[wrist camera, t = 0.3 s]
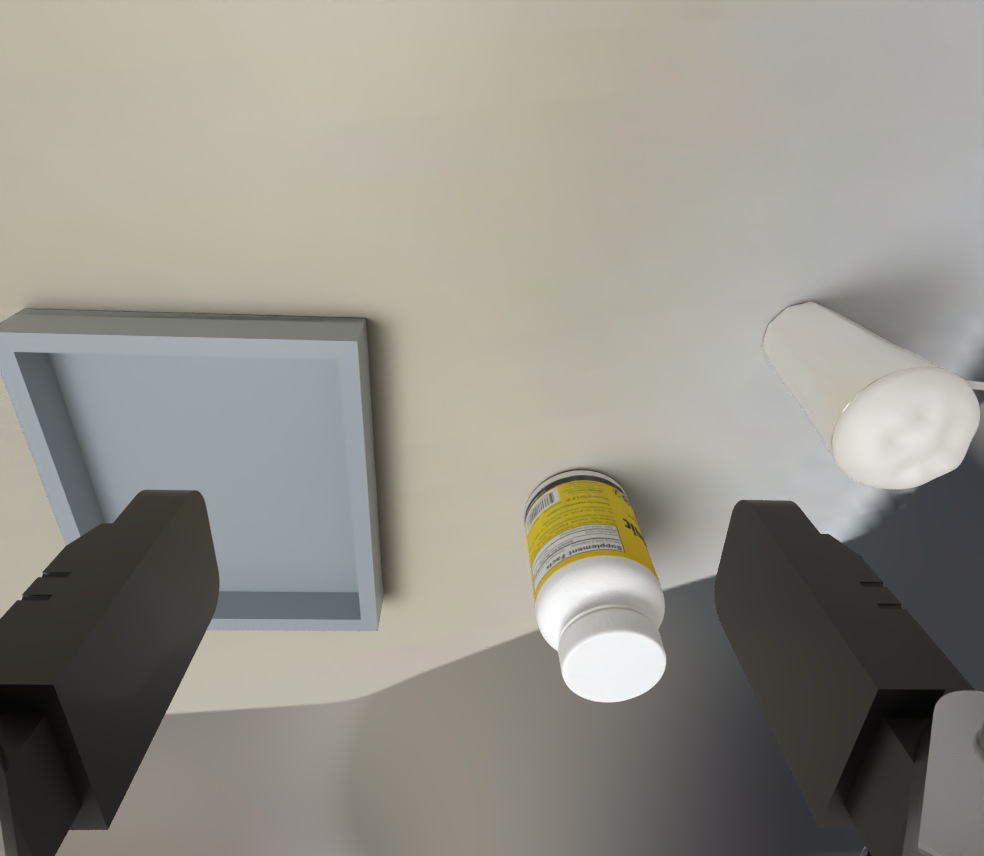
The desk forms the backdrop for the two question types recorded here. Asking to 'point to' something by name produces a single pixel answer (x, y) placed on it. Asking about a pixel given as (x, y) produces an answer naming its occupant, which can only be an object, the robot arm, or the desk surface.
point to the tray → (215, 445)
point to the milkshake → (872, 398)
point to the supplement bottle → (595, 586)
